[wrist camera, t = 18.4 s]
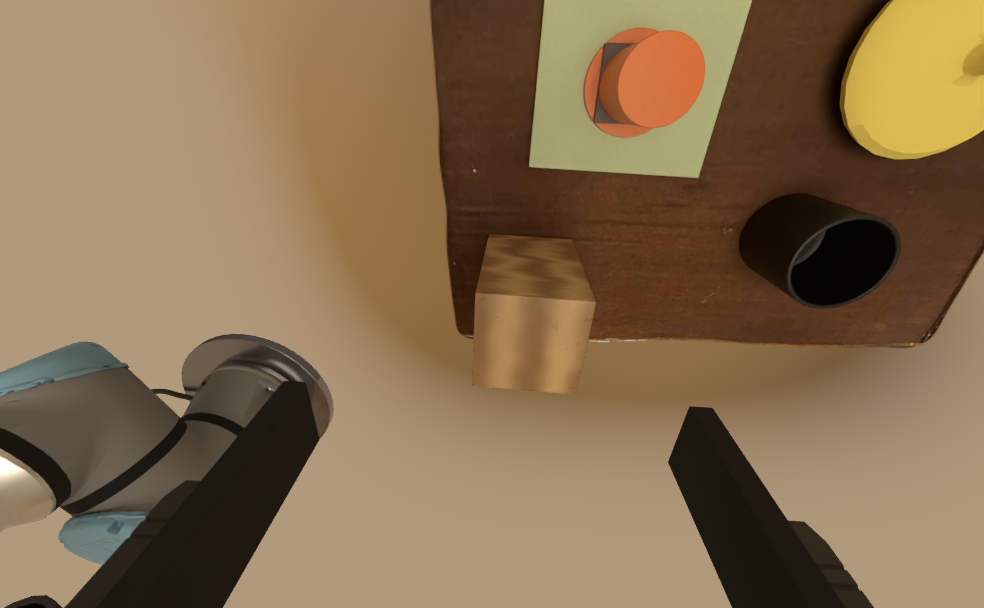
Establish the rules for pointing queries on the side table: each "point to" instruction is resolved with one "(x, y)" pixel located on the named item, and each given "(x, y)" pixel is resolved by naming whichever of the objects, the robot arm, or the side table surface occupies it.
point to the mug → (820, 250)
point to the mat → (566, 58)
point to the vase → (917, 78)
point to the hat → (643, 81)
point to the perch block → (531, 315)
